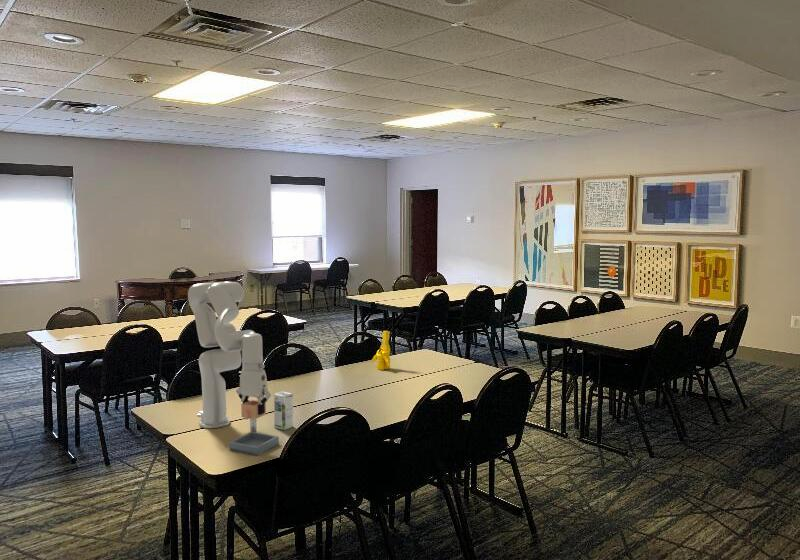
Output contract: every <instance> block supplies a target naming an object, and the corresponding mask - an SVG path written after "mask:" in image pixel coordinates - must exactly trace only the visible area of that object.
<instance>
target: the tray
mask: <svg viewBox="0 0 800 560" xmlns="http://www.w3.org/2000/svg"><path fill="white" fill-rule="evenodd" d="M279 441H280V439H279V436H278V435H273V434H269V433H267V434H266V433H261V432H258V431H257V432H252V431H251V432H250V431H249V432H248V433H246V434H244V435H241V436H239V437H237V438H235V439H233V440H232V441H229V442H228V443H229V444H228V446H229V447H228V448H229V451H232V452H236V453H237V452H238V453H242V454H247V455H252V456H256V457H257V456H260V455H261V454H263V453H265V452H267V451H268V450H270V449H272V448H274V447H276V446H278V445H279V444H280V442H279Z"/></svg>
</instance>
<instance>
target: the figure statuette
mask: <svg viewBox="0 0 800 560" xmlns="http://www.w3.org/2000/svg"><path fill="white" fill-rule="evenodd" d="M381 338H382V343H381V345H380V347H379V349H378V350H377V351H376V354H375V355H373V357H372V359H371V361H370V362H372V363H374V362H375V361H376V360H377V361H376V369H377V370H379V371H381V370H382V371H383V370H389V369H390V368H391V357H390V353H391V347H390V344H389V341H390V331H388V330H383V331H382V337H381Z"/></svg>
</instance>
